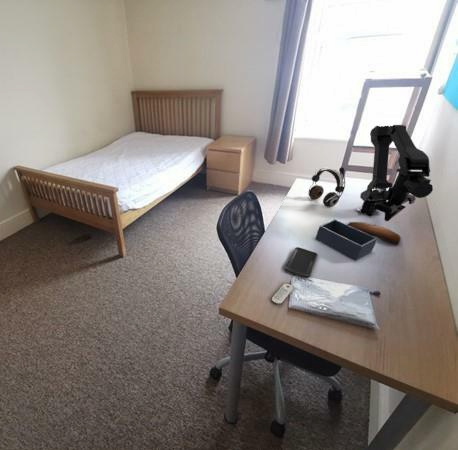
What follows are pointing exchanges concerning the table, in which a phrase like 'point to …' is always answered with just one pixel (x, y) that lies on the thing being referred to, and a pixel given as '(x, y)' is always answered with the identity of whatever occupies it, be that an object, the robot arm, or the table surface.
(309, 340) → the table surface
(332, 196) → the headset
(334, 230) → the box
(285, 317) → the table surface
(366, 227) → the sunglasses case
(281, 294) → the keychain
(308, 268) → the phone
